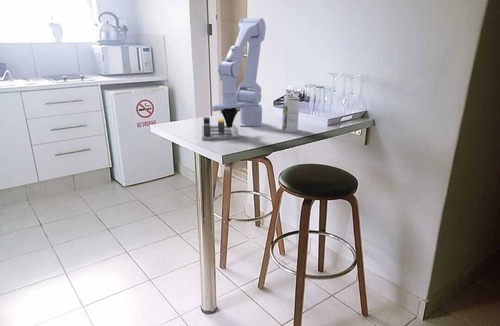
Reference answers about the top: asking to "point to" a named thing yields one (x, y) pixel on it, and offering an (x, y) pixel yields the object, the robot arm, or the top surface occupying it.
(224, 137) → the panel
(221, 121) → the toggle
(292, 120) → the syrup box
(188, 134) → the top surface
